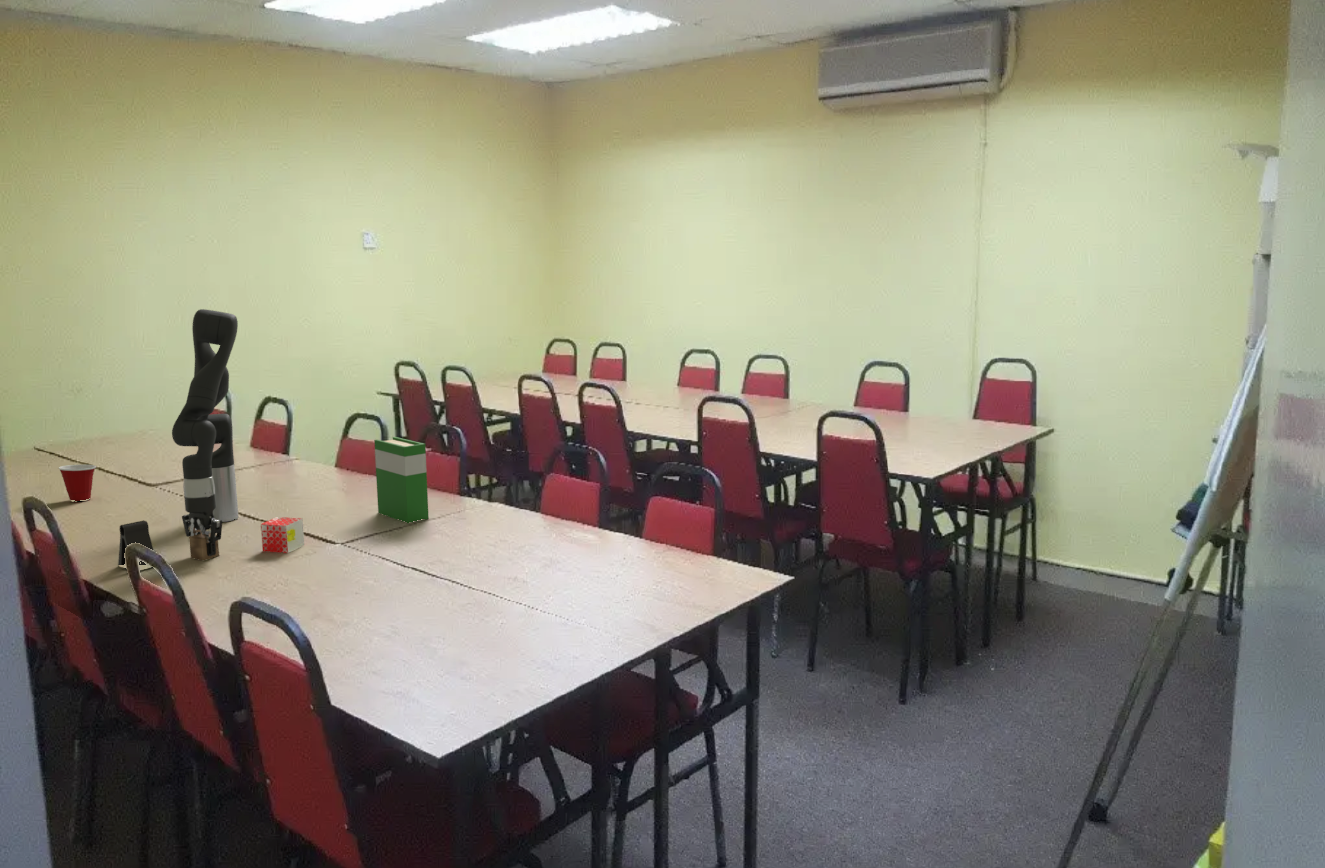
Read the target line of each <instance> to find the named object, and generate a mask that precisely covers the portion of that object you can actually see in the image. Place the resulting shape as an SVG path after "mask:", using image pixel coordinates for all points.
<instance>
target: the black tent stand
mask: <svg viewBox="0 0 1325 868" xmlns="http://www.w3.org/2000/svg"><path fill="white" fill-rule="evenodd" d="M119 535H120V537H119V550H118V563H117V565H124V564H125V558H124V553H125V548H126V547H127V545H129V544H131V543H135V542H136V543H140V544H142V545H144V546H146V547H148V548H150V549H152V550H154V547H153V543H152V539H151V535H150V531H149V523H148V521H147V520H139V521H135V522H129V523H124V524H120V525H119ZM140 562H141V564H140ZM140 562H139V565H146V564H145V563H144V562H142V561H140ZM124 570H126V568H125V569H124Z"/></svg>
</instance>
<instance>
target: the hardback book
mask: <svg viewBox="0 0 1325 868" xmlns="http://www.w3.org/2000/svg"><path fill="white" fill-rule="evenodd" d="M426 452H427V451H426V443H423V442H418V441H414V440H411V439H405V438H401V437H398V436H392V439H388V440H380V439H374V457H375V459H374V460H375V474H376V475H375V478H376V479H375V480H376V494H377V495H376V496H377V511H378V512H377V513H378V514H379V513H380V514H379V515H382V514H383V516H385V515H386V517H389V518H391V519H394V520H397V519H399V520H398V521H400V520H402V521H401V522H403V521H405V522H407V523H406V524H410V523H409V522H412V523H414V522H413V521H416V522H418V521H417V520H421V519H425V520H429V518H430V517H429V498H428V477H427V473H428V471H427V453H426ZM421 521H422V520H421ZM405 522H404V523H405Z"/></svg>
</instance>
